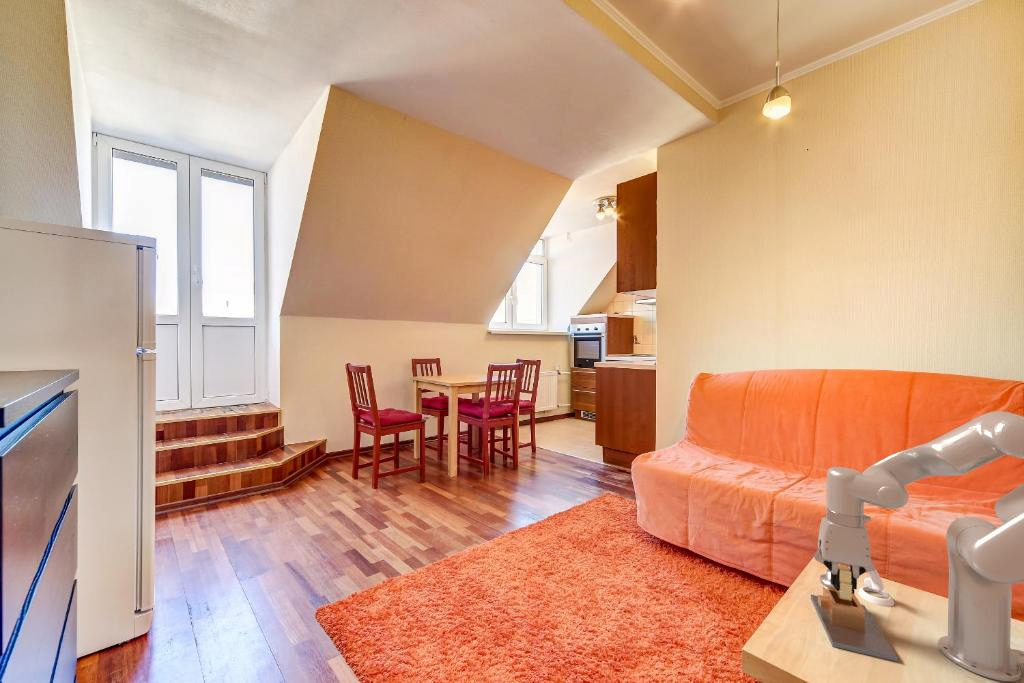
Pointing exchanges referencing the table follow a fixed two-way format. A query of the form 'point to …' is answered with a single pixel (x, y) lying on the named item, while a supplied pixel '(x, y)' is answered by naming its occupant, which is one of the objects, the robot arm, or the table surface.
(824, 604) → the tray with wooden box
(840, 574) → the pale yellow block
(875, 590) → the hook
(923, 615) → the table surface
